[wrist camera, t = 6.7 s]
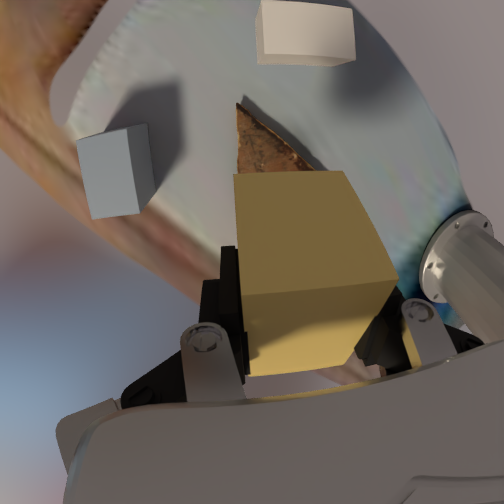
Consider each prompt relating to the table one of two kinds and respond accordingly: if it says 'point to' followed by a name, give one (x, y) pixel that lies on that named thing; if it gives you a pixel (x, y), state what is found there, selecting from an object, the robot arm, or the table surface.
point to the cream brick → (304, 34)
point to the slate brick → (117, 171)
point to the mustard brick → (306, 269)
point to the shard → (263, 148)
